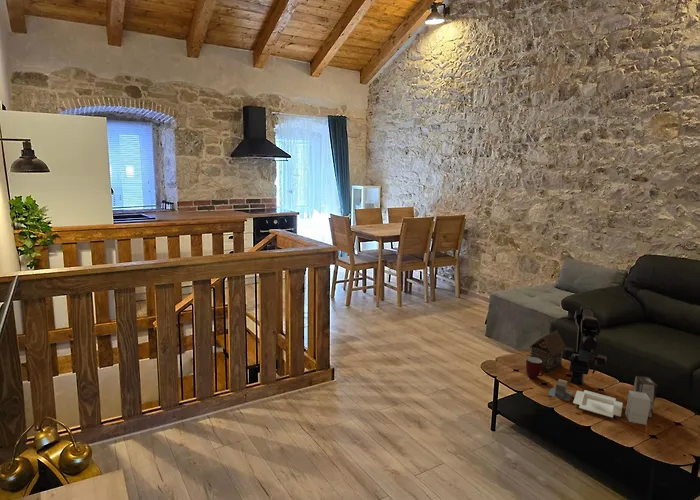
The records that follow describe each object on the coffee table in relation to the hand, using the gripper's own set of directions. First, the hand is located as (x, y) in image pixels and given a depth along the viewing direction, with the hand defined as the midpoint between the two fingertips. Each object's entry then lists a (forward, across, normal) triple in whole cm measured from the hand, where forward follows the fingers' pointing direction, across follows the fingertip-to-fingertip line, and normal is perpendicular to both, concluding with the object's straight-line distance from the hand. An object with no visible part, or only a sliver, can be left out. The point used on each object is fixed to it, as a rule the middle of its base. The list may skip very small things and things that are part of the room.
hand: (582, 371), depth 236 cm
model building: (+13, -21, +26) cm, 36 cm away
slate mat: (+12, -8, -7) cm, 16 cm away
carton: (+12, +9, -9) cm, 18 cm away
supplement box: (+13, +25, -11) cm, 30 cm away
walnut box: (+12, -8, -7) cm, 16 cm away
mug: (+13, -23, +5) cm, 27 cm away
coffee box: (+13, +27, 0) cm, 30 cm away
